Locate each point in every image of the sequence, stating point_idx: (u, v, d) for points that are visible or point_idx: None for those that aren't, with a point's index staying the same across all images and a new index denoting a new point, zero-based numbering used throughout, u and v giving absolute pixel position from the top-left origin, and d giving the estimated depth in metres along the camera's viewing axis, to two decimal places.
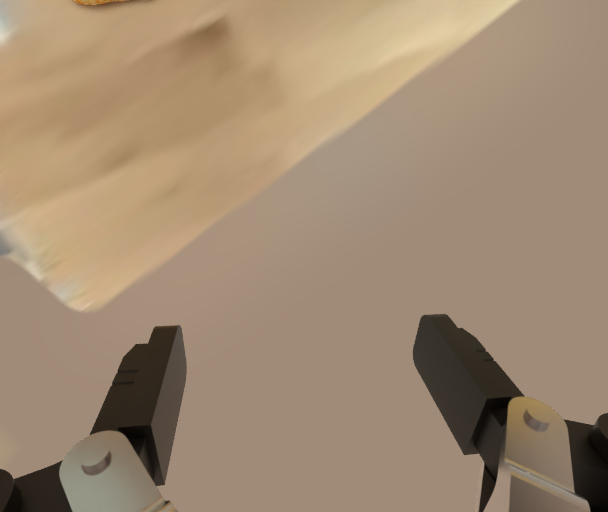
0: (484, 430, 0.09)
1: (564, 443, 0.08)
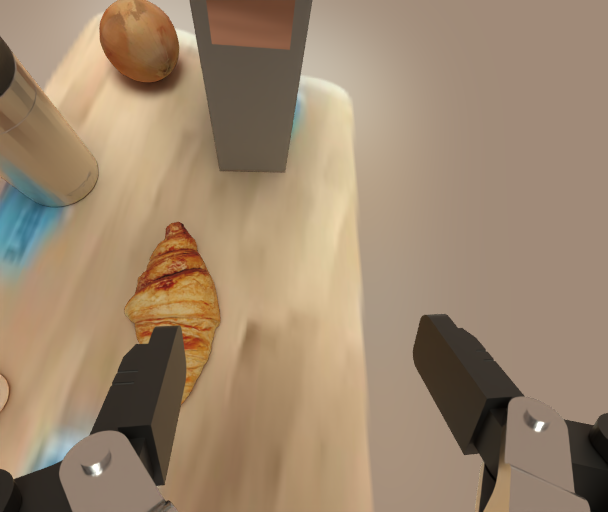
0: (484, 430, 0.09)
1: (564, 443, 0.08)
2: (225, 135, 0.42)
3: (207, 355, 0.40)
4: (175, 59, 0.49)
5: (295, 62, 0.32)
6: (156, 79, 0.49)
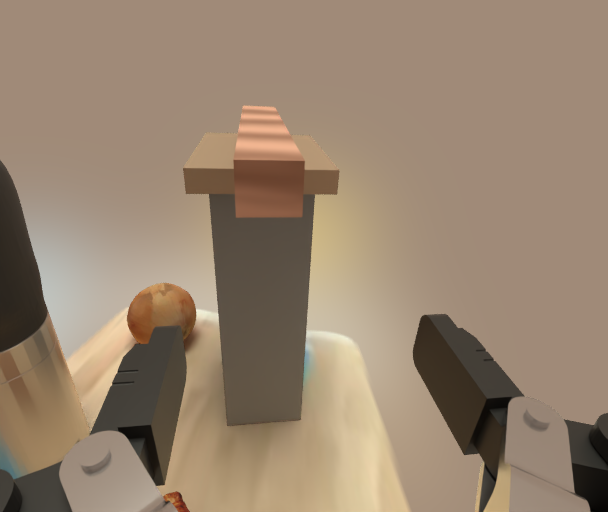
0: (484, 430, 0.09)
1: (564, 443, 0.08)
2: (235, 376, 0.40)
3: None
4: (191, 326, 0.54)
5: (302, 290, 0.36)
6: None
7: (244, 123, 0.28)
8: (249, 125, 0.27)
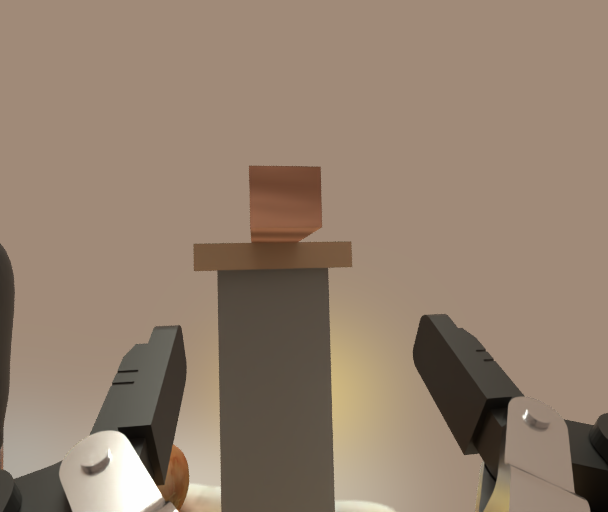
0: (484, 430, 0.09)
1: (564, 443, 0.08)
2: None
3: None
4: (181, 497, 0.41)
5: (323, 397, 0.29)
6: None
7: None
8: None
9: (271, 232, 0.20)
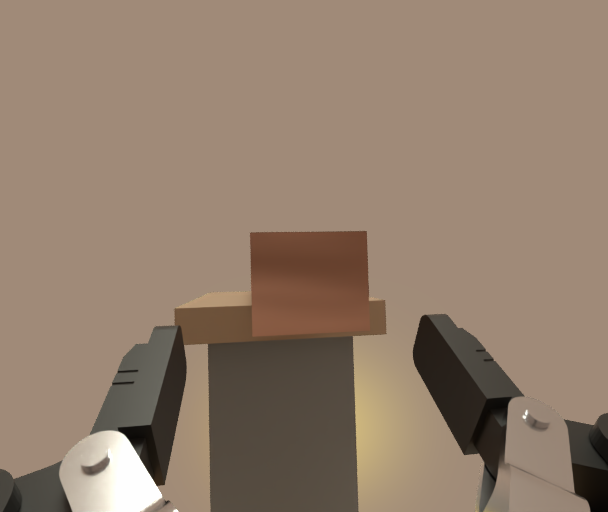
0: (484, 430, 0.09)
1: (564, 443, 0.08)
2: None
3: None
4: None
5: (348, 501, 0.22)
6: None
7: None
8: None
9: None
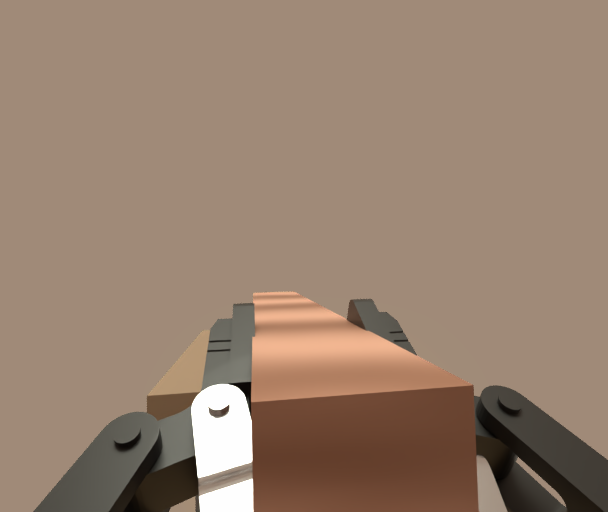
0: None
1: None
2: None
3: None
4: None
5: None
6: None
7: (260, 310, 0.17)
8: (269, 311, 0.16)
9: None
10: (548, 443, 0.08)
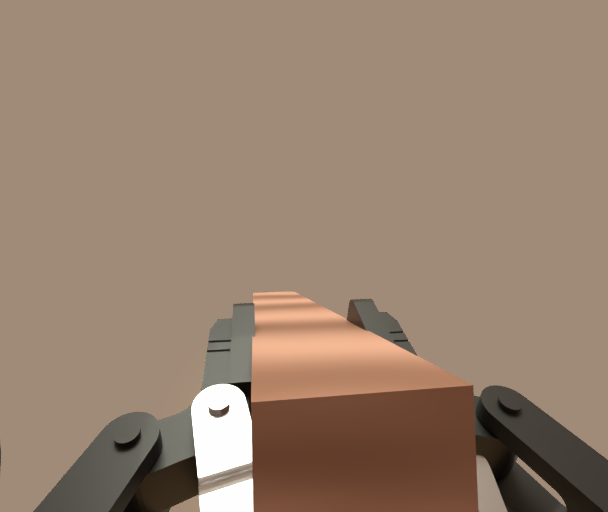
0: None
1: None
2: None
3: None
4: None
5: None
6: None
7: (260, 310, 0.17)
8: (269, 311, 0.16)
9: None
10: (548, 443, 0.08)
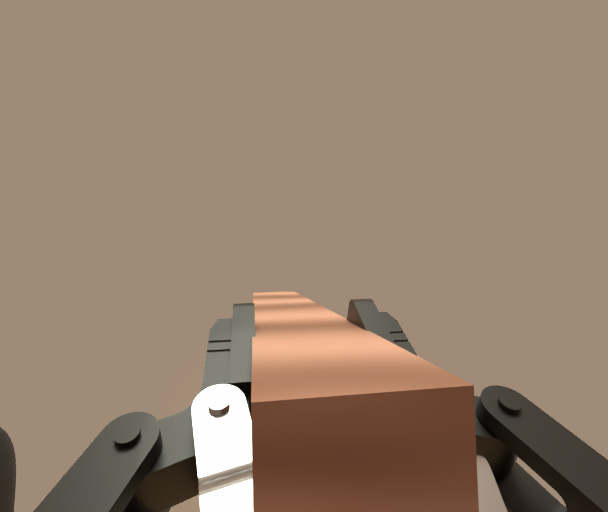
0: None
1: None
2: None
3: None
4: None
5: None
6: None
7: (260, 310, 0.17)
8: (269, 312, 0.16)
9: None
10: (548, 443, 0.08)
